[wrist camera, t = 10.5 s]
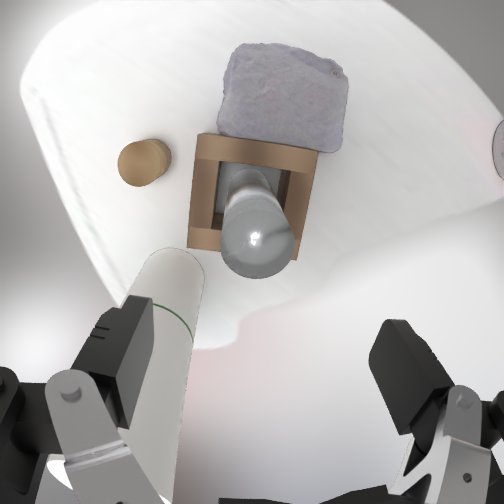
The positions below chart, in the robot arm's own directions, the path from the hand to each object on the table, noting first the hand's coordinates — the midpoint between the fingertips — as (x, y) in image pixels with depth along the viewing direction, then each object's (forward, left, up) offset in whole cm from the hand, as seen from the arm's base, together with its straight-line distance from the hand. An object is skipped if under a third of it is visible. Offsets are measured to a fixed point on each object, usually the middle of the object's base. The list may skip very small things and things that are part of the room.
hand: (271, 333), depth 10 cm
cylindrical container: (+7, +11, -22) cm, 26 cm away
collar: (0, 0, -22) cm, 22 cm away
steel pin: (0, 0, -22) cm, 22 cm away
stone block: (-2, -10, -23) cm, 25 cm away
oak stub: (+10, -2, -22) cm, 24 cm away
